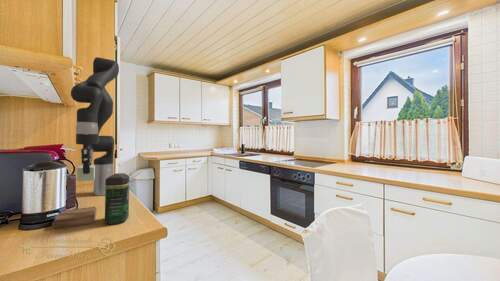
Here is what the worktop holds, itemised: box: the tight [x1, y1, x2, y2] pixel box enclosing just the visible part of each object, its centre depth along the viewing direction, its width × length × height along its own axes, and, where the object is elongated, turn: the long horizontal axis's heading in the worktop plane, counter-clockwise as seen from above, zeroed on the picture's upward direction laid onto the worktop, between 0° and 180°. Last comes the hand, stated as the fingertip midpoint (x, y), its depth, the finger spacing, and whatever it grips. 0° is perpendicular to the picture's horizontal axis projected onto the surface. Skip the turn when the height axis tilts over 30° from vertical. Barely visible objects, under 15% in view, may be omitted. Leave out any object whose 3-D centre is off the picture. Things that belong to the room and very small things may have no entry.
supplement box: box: [66, 173, 77, 210], centre depth 93 cm, size 9×5×16 cm, turn 84°
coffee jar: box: [104, 172, 130, 225], centre depth 83 cm, size 10×8×19 cm
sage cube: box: [76, 164, 95, 182], centre depth 89 cm, size 6×6×6 cm
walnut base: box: [51, 206, 98, 230], centre depth 82 cm, size 12×12×3 cm
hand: (87, 172), depth 89 cm, fingers closed on sage cube, 5 cm apart
